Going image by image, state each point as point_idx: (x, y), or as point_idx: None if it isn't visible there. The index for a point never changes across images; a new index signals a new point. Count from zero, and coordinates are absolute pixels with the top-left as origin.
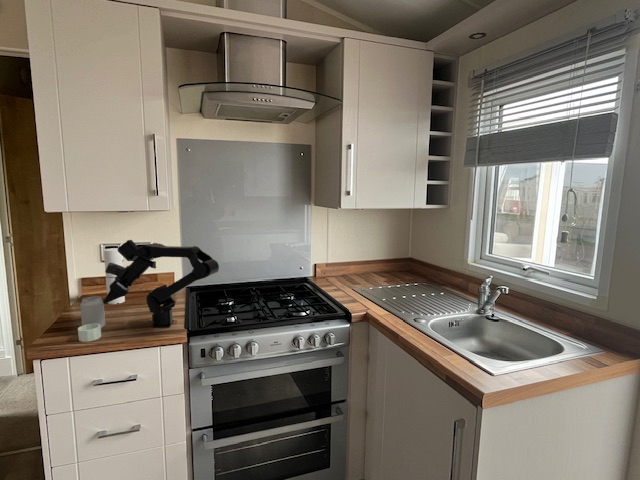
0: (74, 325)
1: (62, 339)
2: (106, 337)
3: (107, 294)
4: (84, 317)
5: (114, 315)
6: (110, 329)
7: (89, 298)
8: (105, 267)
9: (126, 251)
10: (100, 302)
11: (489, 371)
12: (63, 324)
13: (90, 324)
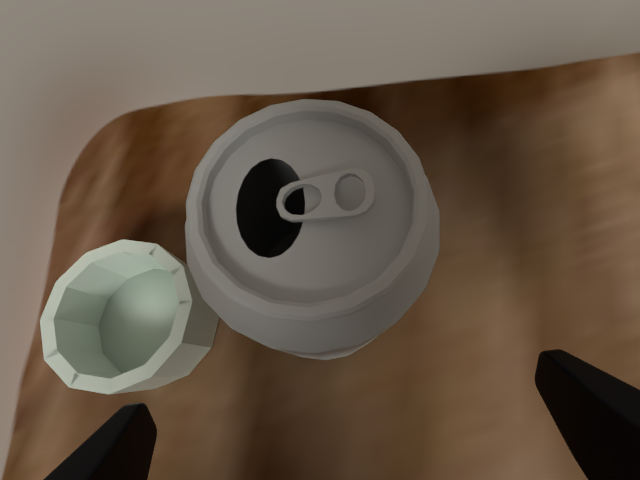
0: None
1: (186, 183)
2: None
3: (547, 357)
4: (244, 225)
5: (586, 353)
6: (274, 414)
7: (376, 155)
8: None
9: None
10: (257, 333)
11: None
12: (421, 106)
13: (178, 299)
